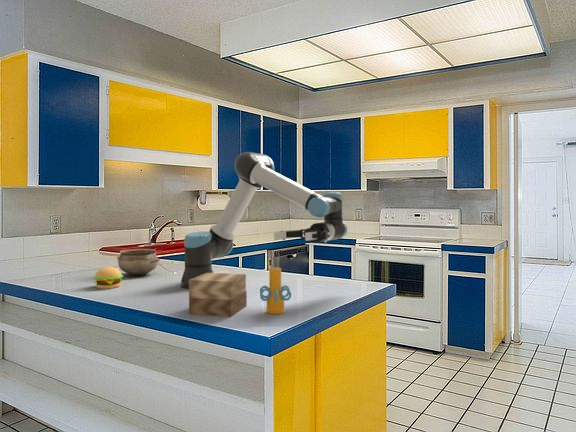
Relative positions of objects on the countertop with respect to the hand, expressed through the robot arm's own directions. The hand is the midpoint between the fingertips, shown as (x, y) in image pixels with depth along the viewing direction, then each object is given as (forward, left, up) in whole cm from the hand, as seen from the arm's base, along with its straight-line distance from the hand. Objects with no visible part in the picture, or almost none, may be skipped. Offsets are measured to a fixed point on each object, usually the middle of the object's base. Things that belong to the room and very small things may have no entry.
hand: (290, 236), depth 163 cm
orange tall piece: (-3, -10, -25) cm, 27 cm away
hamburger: (-86, +14, -25) cm, 91 cm away
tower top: (-23, -12, -19) cm, 32 cm away
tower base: (-23, -12, -25) cm, 36 cm away
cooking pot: (-90, +43, -25) cm, 103 cm away
